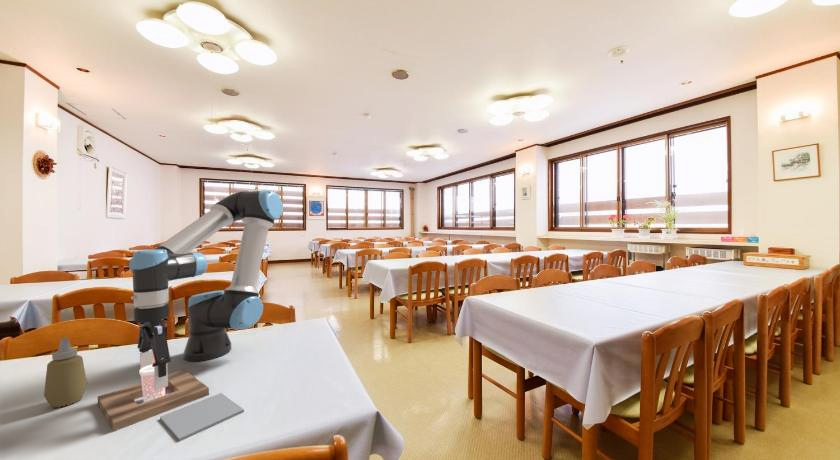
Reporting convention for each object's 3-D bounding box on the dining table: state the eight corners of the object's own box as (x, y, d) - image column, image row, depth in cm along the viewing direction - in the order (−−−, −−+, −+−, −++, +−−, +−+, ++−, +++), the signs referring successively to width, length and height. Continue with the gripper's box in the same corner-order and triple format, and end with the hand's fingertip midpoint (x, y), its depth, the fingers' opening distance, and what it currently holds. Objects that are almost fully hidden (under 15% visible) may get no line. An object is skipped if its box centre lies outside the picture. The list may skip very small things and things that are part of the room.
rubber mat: (160, 419, 81) (160, 416, 81) (221, 394, 92) (221, 392, 92) (179, 441, 72) (179, 438, 72) (243, 411, 84) (243, 409, 84)
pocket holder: (97, 403, 88) (97, 396, 88) (184, 375, 104) (183, 369, 104) (114, 431, 76) (113, 422, 76) (208, 394, 92) (208, 387, 92)
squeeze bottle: (65, 395, 93) (63, 333, 92) (95, 393, 93) (93, 332, 93) (34, 411, 85) (31, 344, 84) (67, 410, 85) (65, 342, 85)
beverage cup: (173, 396, 92) (171, 347, 91) (147, 407, 86) (145, 355, 86) (160, 391, 94) (159, 344, 94) (135, 402, 89) (133, 352, 88)
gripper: (122, 301, 94) (125, 373, 95) (147, 315, 79) (149, 400, 80) (155, 296, 100) (157, 364, 101) (183, 308, 85) (185, 388, 86)
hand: (153, 380), depth 90 cm, fingers open, 13 cm apart
